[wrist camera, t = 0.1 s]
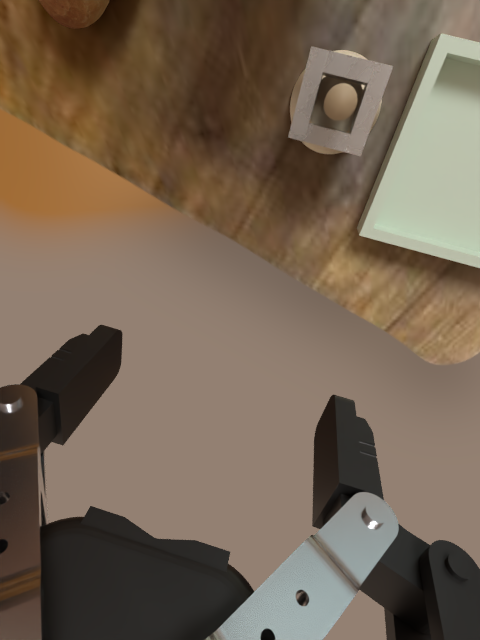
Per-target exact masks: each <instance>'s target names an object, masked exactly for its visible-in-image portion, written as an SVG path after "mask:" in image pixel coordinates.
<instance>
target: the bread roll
mask: <svg viewBox="0 0 480 640" xmlns="http://www.w3.org/2000/svg"><path fill="white" fill-rule="evenodd" d="M109 1H110V0H39V2H40V3H41V5H42V6H43V7H44V9H45V10H46V11H47V12H48V13H49V15H50V16H51V17H52V18H53V19H54V20H56V21H57V22H58V23H60V24H61V25H63V26H66V27H68V28H73V29H79V28H84V27H88V26H89V25H91V24H93V23H94V22H95V21H97V20H98V19H99V18H100V16H101V15H102V14H103V12H104V11H105V9H106V7H107V5H108V3H109Z"/></svg>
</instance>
